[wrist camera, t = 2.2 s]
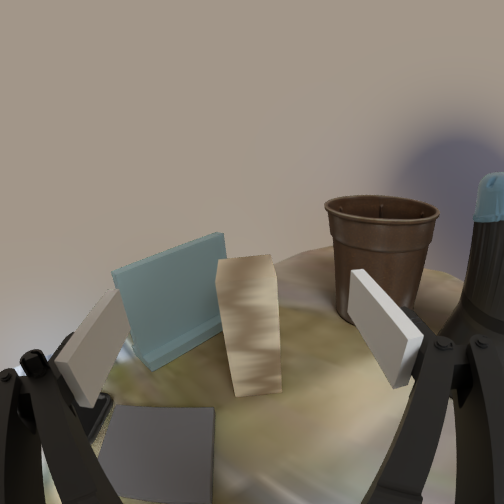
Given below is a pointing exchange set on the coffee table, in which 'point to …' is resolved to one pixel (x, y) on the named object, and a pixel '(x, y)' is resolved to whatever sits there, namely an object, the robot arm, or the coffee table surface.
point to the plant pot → (380, 244)
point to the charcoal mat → (160, 453)
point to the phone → (93, 415)
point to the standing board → (172, 299)
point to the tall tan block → (250, 323)
